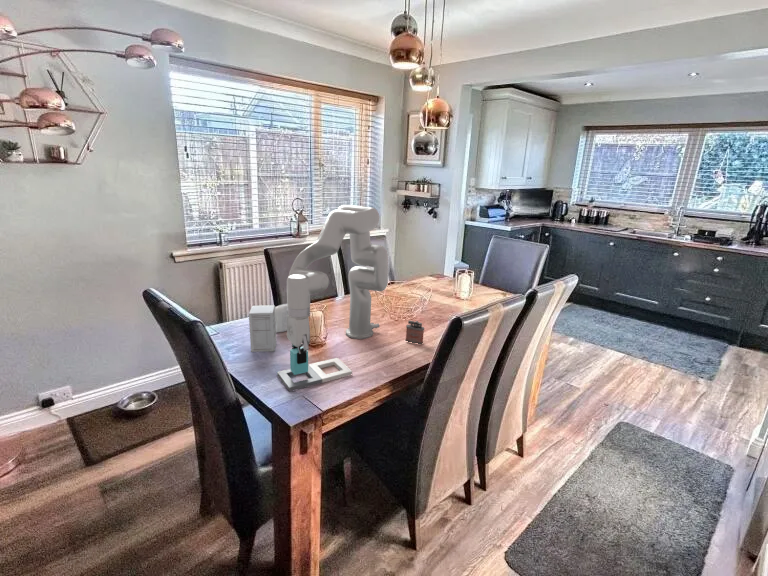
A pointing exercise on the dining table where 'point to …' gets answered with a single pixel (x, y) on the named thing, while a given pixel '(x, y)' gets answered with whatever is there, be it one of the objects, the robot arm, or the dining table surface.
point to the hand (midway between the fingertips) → (299, 359)
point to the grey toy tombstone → (281, 318)
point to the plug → (293, 362)
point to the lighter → (414, 332)
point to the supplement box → (262, 328)
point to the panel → (315, 374)
